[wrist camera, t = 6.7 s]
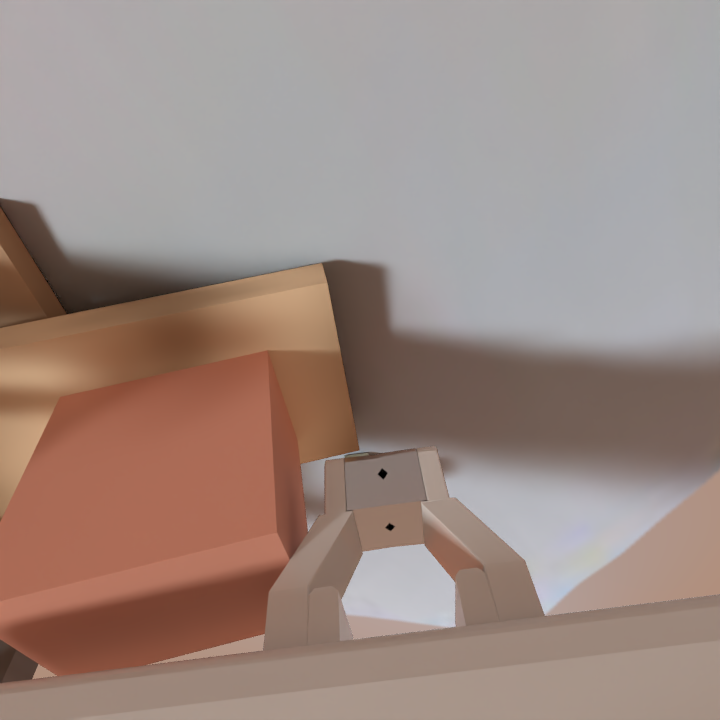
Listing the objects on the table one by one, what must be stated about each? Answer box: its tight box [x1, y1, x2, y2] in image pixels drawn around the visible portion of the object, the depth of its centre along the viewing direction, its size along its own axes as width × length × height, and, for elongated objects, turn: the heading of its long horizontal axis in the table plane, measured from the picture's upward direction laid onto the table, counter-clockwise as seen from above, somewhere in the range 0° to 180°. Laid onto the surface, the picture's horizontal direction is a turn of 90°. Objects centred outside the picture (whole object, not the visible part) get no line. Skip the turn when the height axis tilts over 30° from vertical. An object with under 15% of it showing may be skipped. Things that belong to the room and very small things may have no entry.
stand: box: [0, 207, 369, 683], centre depth 12 cm, size 16×13×11 cm
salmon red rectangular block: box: [0, 350, 308, 676], centre depth 12 cm, size 6×4×6 cm, turn 98°
